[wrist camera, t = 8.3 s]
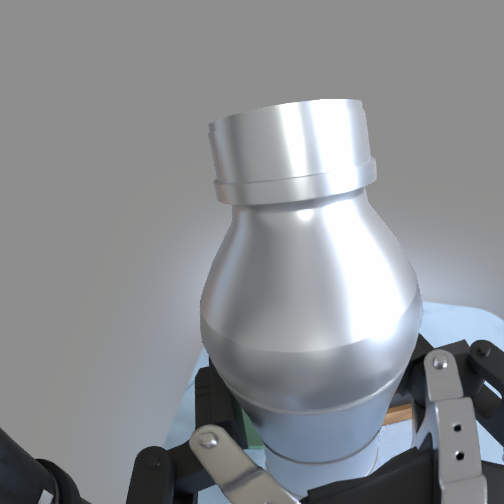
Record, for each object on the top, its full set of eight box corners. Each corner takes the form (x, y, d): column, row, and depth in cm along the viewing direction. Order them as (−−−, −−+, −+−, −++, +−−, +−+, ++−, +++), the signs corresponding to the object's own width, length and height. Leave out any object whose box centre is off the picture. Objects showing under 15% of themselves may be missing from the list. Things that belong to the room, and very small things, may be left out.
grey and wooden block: (334, 434, 20) (334, 411, 18) (330, 391, 24) (329, 365, 23) (474, 397, 17) (488, 369, 16) (457, 362, 22) (466, 334, 20)
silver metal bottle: (378, 508, 10) (494, 95, 3) (269, 522, 11) (75, 153, 4) (365, 433, 16) (374, 109, 9) (272, 446, 17) (188, 138, 10)
